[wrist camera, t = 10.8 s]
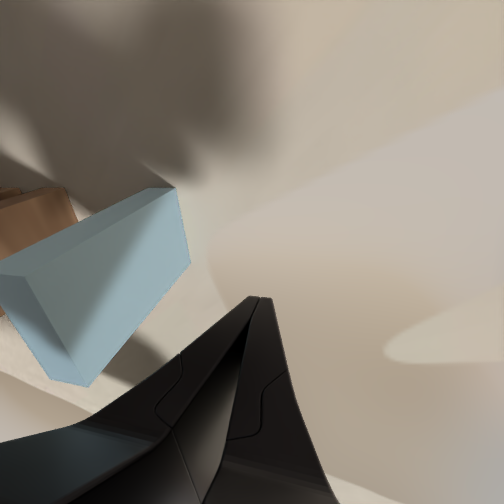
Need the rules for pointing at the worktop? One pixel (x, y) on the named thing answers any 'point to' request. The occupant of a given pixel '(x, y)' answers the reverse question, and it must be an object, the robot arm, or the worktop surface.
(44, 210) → the tile
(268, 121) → the worktop surface
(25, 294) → the tile
